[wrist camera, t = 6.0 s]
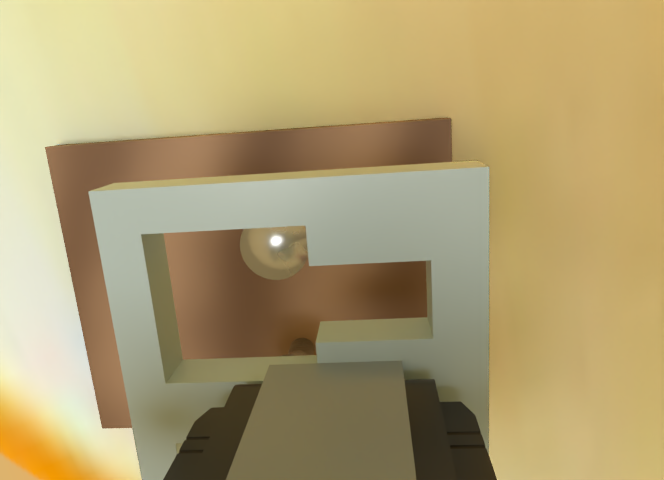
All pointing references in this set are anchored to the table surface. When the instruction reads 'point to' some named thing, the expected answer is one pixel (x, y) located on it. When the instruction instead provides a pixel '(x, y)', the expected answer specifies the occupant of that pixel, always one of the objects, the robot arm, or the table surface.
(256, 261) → the keyhole posts
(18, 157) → the table surface
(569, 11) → the table surface
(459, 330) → the slotted plate
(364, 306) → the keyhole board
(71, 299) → the table surface
